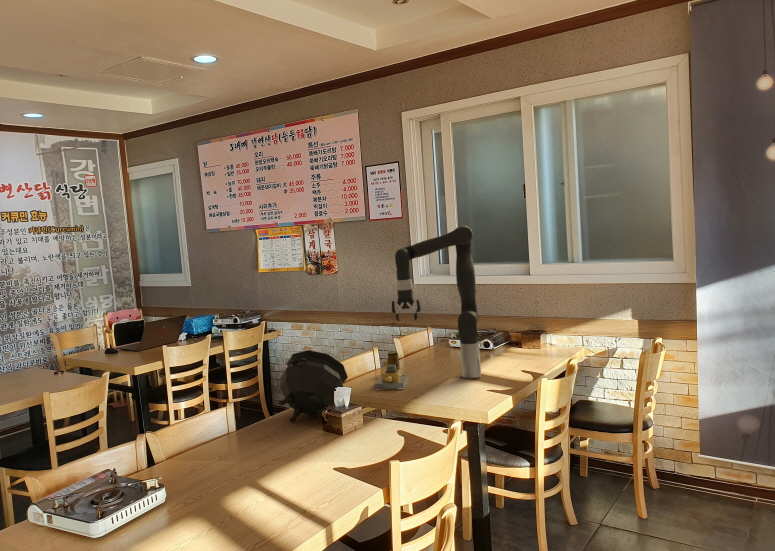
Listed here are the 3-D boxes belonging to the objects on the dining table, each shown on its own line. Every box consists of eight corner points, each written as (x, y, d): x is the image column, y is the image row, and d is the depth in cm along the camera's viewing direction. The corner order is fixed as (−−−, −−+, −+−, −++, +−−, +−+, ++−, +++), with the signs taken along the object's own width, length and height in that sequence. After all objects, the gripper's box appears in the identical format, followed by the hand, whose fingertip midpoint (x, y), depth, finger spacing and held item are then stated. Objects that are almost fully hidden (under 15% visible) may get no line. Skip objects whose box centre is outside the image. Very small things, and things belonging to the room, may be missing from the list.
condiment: (395, 372, 311) (393, 350, 310) (405, 375, 305) (404, 352, 304) (384, 375, 307) (382, 353, 306) (395, 378, 300) (393, 355, 299)
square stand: (408, 381, 292) (407, 367, 292) (403, 389, 279) (402, 374, 278) (381, 381, 295) (380, 368, 294) (375, 389, 281) (373, 375, 281)
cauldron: (259, 413, 241) (275, 366, 259) (319, 439, 249) (330, 392, 267) (288, 383, 224) (302, 335, 241) (351, 411, 232) (360, 363, 250)
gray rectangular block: (397, 384, 288) (395, 364, 287) (396, 386, 285) (394, 366, 284) (389, 384, 289) (387, 364, 288) (388, 386, 286) (386, 366, 285)
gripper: (419, 286, 293) (422, 318, 295) (392, 288, 296) (394, 320, 297) (417, 288, 286) (420, 321, 287) (389, 290, 289) (391, 322, 290)
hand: (407, 320), depth 292 cm, fingers open, 8 cm apart
